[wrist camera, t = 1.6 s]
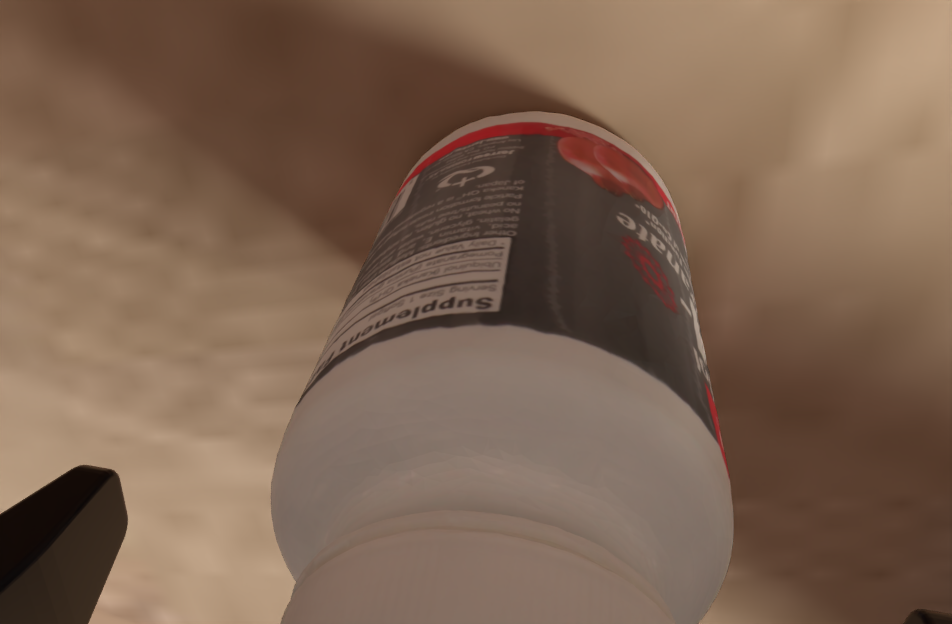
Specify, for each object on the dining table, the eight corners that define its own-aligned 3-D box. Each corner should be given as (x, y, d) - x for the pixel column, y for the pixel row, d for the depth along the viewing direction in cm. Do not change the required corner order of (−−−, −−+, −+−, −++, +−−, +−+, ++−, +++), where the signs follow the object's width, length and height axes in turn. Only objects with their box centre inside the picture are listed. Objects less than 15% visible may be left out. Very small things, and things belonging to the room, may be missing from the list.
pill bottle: (735, 279, 15) (896, 881, 7) (501, 394, 17) (420, 945, 9) (576, 36, 13) (544, 497, 5) (334, 203, 15) (37, 706, 7)
